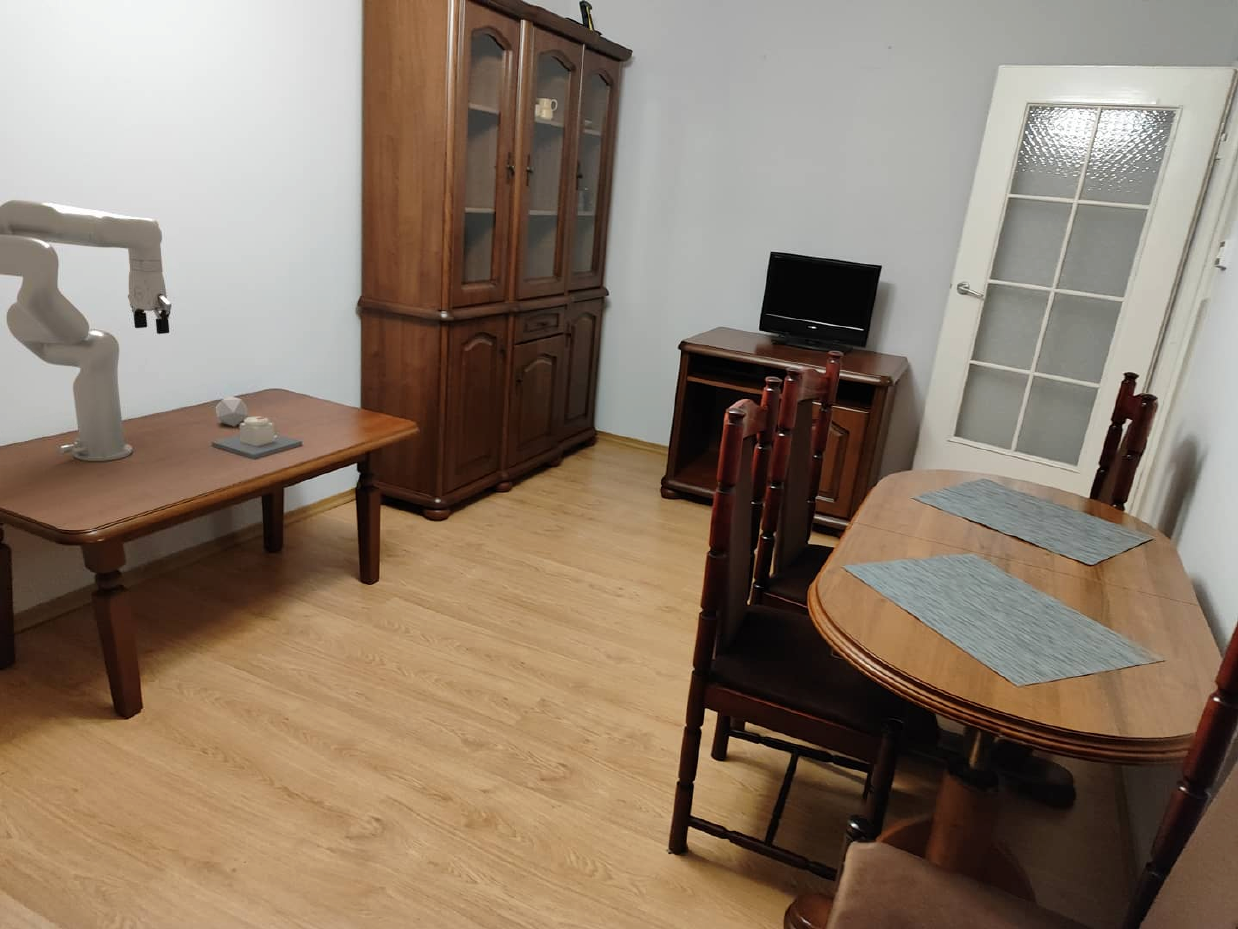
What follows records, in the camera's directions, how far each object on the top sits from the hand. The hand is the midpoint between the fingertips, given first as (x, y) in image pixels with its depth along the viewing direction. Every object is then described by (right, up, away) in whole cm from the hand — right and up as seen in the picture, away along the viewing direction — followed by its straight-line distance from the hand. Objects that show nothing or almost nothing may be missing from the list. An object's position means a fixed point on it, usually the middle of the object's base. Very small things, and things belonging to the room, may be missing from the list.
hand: (152, 330), depth 221 cm
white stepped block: (+28, -30, +1) cm, 41 cm away
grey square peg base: (+28, -31, +1) cm, 42 cm away
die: (+14, -25, +18) cm, 33 cm away
